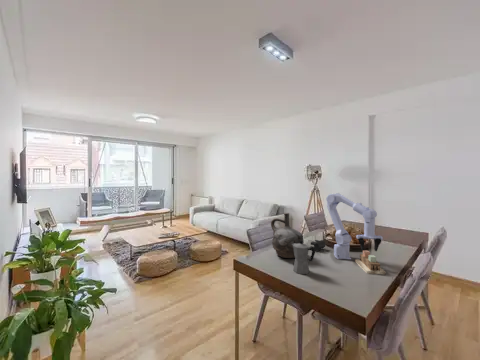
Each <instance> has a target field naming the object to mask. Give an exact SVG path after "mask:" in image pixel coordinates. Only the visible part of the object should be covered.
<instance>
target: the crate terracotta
mask: <svg viewBox="0 0 480 360" xmlns="http://www.w3.org/2000/svg"><path fill="white" fill-rule="evenodd" d="M362 254H363V256H364V257H368V255H371V252H370V251H369V250H364V251H362Z"/></svg>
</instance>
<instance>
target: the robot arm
mask: <svg viewBox="0 0 480 360" xmlns="http://www.w3.org/2000/svg"><path fill="white" fill-rule="evenodd" d="M325 200H326V208H327V210H328V213H329V216H330V218H331V221H332V224H333V226H334V228H335V231H336V232H335V234H334V235H335V242H336V244H333V256H334V257H335V258H336V259H337V260H352V258H351V256H350V243H351V242H352V236H351V235H350V234H349V232H348V230H346V229H345V227H344V224H343V222H342V220H341V217H340V214H339V212H338V209H337V206H338V205H339V204H340V203H343V204H345V205H346V206H349V207H350V208H352V210H353V211H354V212H356V213H358V215H361V216H363V220H364V221H363V224H364V227H363V230H364V231H363V234H356V236H355V238H356V239H357V241H358V242H359V245H360V249H361V251H362V252H363V251H365V242H366V240H373V242H374V243H373V244H374V251H375V252H377V251H378V248H379V247H380V244H381V243H382V241H383V236H382V235H378V234H377V235H376V233H375V232H376V230H375V229H376V217H377V215H378V214H377V211H376V210H375V209H374V208H370V207H368V206H365V205H363V203H362V202H357V203H356V202H354V200H351V199H349V198H348V197H346V196H345V195H344V194H341V193H340V192H338V193H329V194H328V195H327V197H326V199H325Z"/></svg>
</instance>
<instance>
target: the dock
mask: <svg viewBox="0 0 480 360" xmlns="http://www.w3.org/2000/svg"><path fill="white" fill-rule="evenodd" d="M354 262H355V263H356V264H357V265H358V266H359V268H361V269H362V270H363V271H364V272H365V274H373V275H386V274H387V272H386V271H385V270H384V269H383V268H382V267H380V271H378V270H376V271H374V270H370V269H369V268H368V267H367V266H366V265H365V264H363V263H362V262H361V261H360V258H359V259H358V258H357V259H356V258H354Z"/></svg>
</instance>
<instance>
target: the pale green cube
mask: <svg viewBox="0 0 480 360" xmlns="http://www.w3.org/2000/svg"><path fill="white" fill-rule="evenodd" d="M368 260H369V261H370V262H376V261H377V256H375V255H374V254H373V255H372V254H370V255H368Z"/></svg>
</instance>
